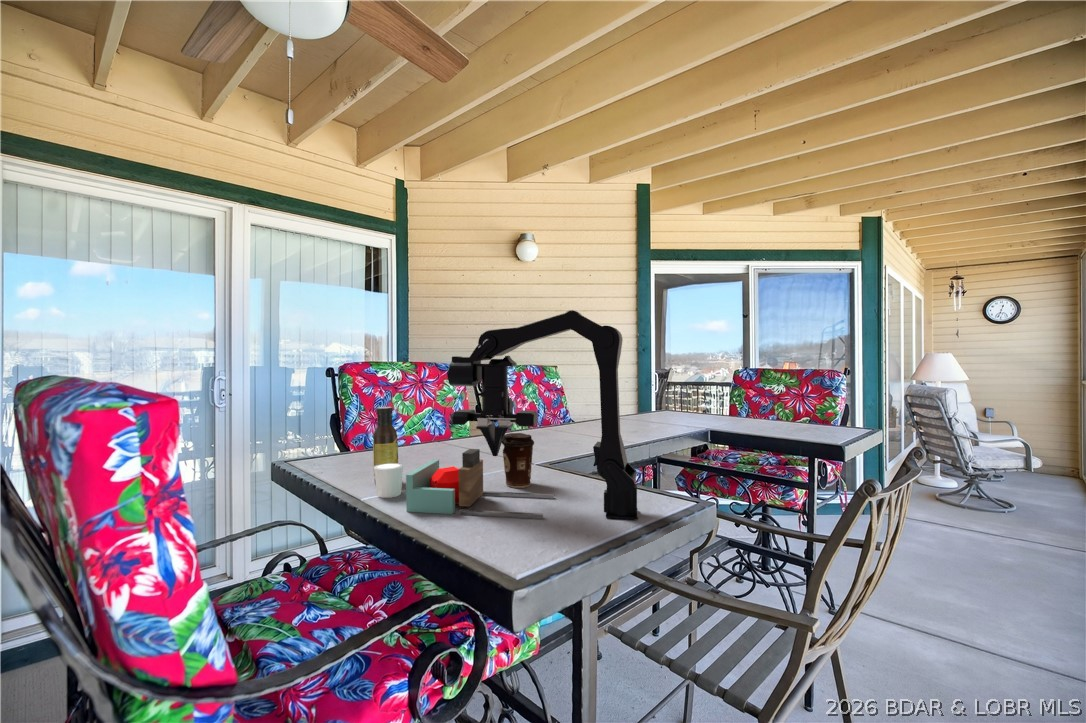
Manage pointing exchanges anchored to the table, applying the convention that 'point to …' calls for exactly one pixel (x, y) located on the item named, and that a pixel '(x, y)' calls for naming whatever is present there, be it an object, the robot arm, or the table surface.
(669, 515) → the table surface
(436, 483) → the ball
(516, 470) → the coffee cup
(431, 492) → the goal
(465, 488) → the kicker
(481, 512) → the track
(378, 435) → the sauce bottle
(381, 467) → the white cup
